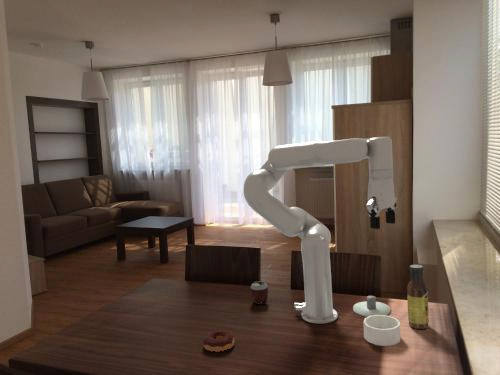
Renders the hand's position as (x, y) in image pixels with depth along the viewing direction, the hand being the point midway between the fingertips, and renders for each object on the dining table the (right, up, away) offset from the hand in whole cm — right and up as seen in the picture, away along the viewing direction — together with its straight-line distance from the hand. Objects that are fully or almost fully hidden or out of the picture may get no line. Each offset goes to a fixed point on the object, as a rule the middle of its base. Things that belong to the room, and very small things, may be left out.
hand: (383, 225), depth 136 cm
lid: (0, -32, +12) cm, 34 cm away
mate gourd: (-40, -33, +26) cm, 58 cm away
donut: (-54, -38, -7) cm, 66 cm away
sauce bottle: (+11, -33, -3) cm, 34 cm away
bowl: (-3, -34, -9) cm, 35 cm away
